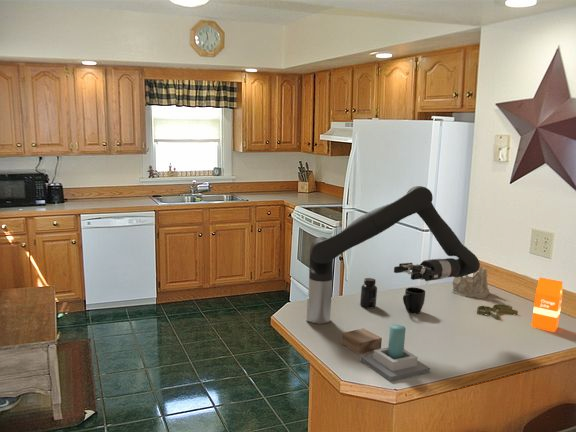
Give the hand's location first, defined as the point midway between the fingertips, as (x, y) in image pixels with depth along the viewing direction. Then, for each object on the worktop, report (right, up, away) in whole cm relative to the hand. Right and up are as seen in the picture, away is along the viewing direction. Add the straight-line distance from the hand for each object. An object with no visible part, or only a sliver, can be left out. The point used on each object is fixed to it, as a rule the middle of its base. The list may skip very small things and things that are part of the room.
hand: (403, 273), depth 194 cm
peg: (-5, -28, -12) cm, 31 cm away
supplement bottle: (-6, -19, +46) cm, 50 cm away
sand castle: (+48, -17, +72) cm, 88 cm away
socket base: (-5, -29, -12) cm, 32 cm away
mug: (+12, -21, +40) cm, 47 cm away
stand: (-14, -26, +3) cm, 30 cm away
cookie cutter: (+50, -22, +45) cm, 70 cm away
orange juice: (+64, -25, +30) cm, 75 cm away
